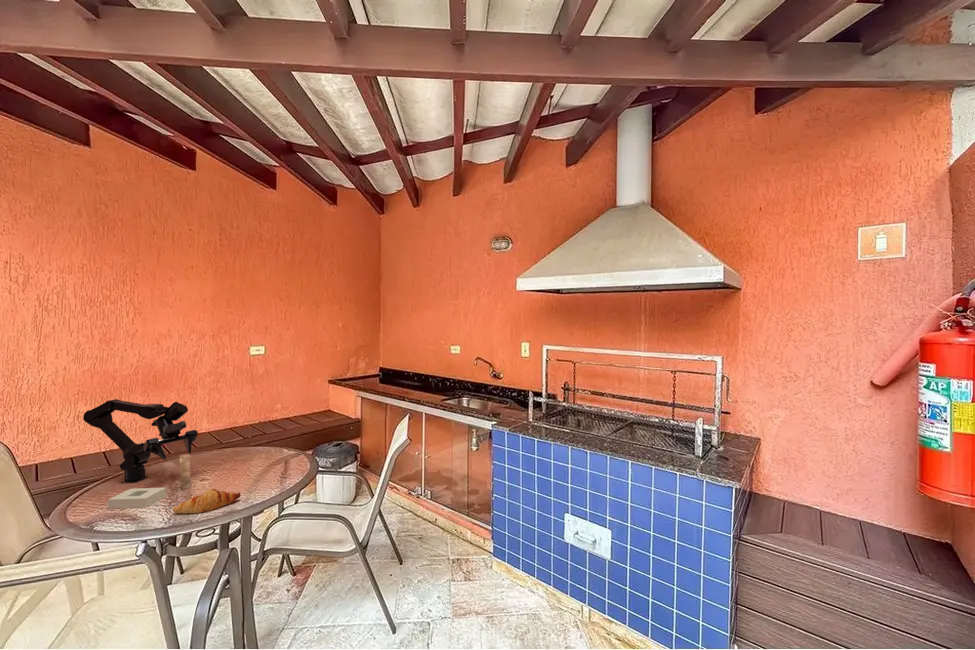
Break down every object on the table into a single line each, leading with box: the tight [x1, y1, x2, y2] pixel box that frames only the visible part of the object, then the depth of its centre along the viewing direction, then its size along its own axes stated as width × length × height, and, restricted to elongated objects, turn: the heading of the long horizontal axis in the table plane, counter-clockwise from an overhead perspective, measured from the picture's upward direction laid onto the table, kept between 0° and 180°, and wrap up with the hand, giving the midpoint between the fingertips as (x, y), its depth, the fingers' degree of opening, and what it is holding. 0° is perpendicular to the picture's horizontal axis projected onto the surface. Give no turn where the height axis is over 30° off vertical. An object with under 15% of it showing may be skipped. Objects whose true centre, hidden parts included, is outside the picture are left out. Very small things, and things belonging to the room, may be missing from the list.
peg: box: [179, 453, 192, 491], centre depth 171 cm, size 4×4×14 cm
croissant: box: [172, 488, 241, 514], centre depth 152 cm, size 21×10×8 cm, turn 123°
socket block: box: [107, 487, 167, 510], centre depth 157 cm, size 14×10×4 cm
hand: (178, 455), depth 174 cm, fingers open, 9 cm apart
